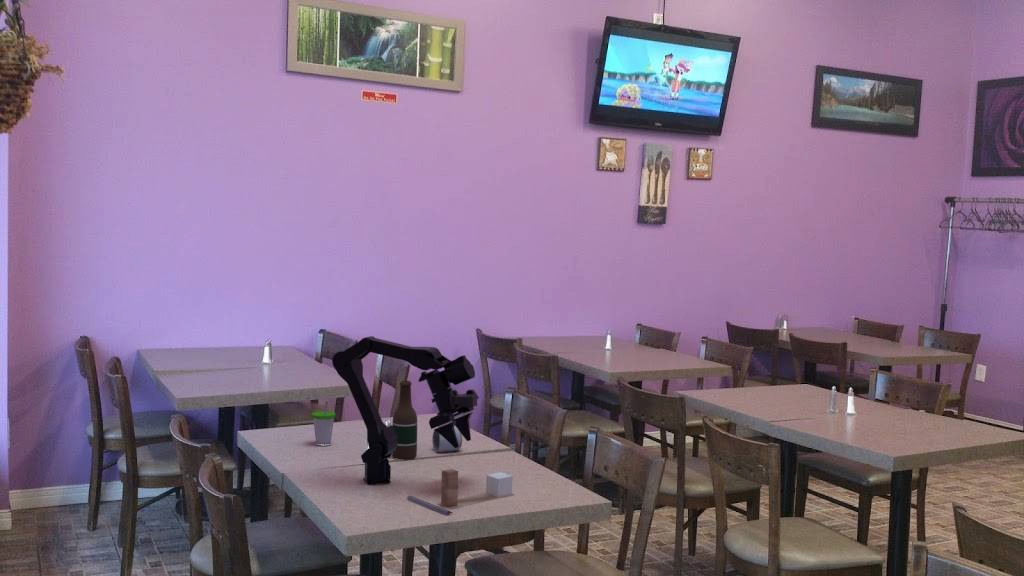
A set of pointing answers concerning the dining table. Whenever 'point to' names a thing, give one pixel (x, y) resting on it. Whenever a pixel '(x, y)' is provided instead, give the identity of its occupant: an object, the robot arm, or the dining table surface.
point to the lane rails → (428, 505)
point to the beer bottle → (405, 425)
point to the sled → (451, 492)
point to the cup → (323, 426)
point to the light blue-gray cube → (499, 484)
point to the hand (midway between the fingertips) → (463, 444)
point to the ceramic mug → (445, 442)
